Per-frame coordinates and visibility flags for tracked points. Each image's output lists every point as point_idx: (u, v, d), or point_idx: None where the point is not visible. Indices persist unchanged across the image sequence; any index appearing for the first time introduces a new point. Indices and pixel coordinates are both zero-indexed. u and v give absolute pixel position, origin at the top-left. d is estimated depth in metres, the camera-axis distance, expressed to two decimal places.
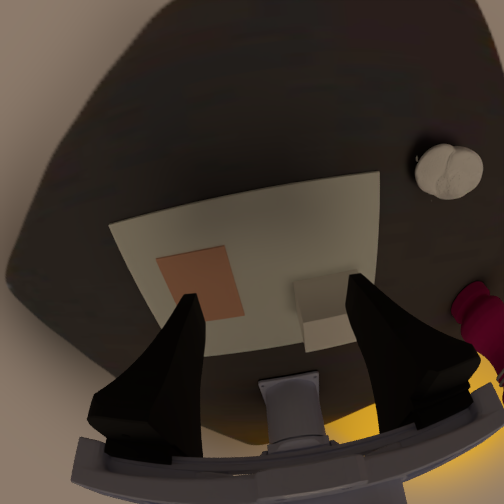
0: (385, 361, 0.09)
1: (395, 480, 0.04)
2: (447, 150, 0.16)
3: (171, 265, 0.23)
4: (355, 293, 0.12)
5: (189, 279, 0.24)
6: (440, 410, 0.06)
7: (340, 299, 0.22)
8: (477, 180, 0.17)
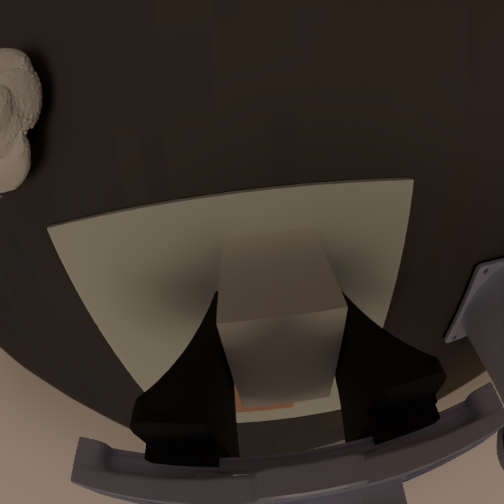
0: (347, 370, 0.09)
1: (395, 480, 0.04)
2: None
3: None
4: None
5: None
6: (401, 425, 0.06)
7: None
8: None
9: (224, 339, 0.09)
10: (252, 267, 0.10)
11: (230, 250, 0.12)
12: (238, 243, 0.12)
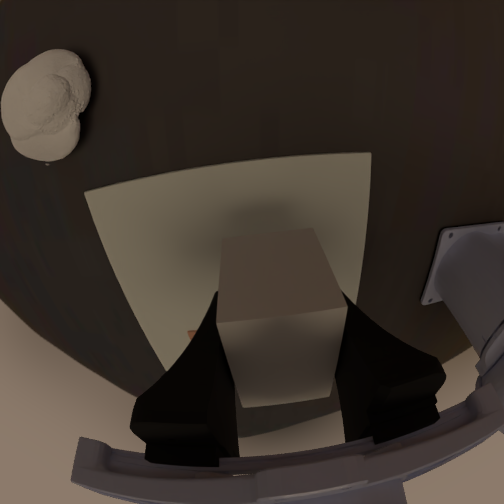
0: (347, 370, 0.09)
1: (395, 480, 0.04)
2: (15, 143, 0.11)
3: None
4: None
5: None
6: (400, 425, 0.06)
7: None
8: (26, 75, 0.08)
9: (224, 339, 0.09)
10: (252, 267, 0.10)
11: (230, 250, 0.12)
12: (238, 243, 0.12)
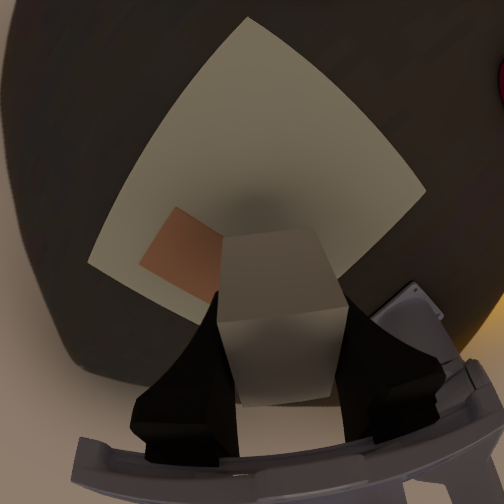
0: (347, 370, 0.09)
1: (395, 480, 0.04)
2: None
3: (153, 260, 0.21)
4: None
5: (179, 262, 0.21)
6: (400, 425, 0.06)
7: None
8: None
9: (224, 338, 0.09)
10: (252, 266, 0.10)
11: (231, 249, 0.12)
12: (239, 243, 0.12)
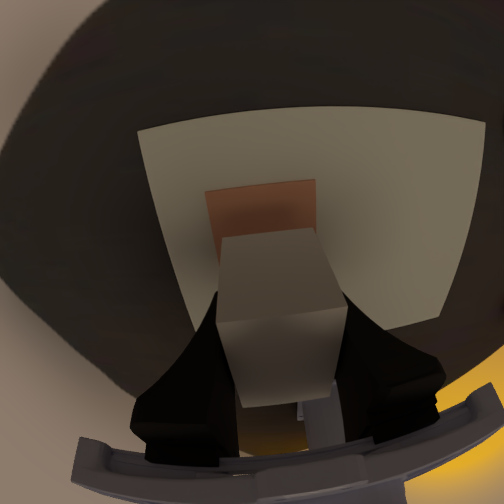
0: (347, 370, 0.09)
1: (395, 480, 0.04)
2: None
3: (228, 204, 0.15)
4: None
5: (251, 230, 0.16)
6: (400, 425, 0.06)
7: None
8: None
9: (224, 339, 0.09)
10: (252, 266, 0.10)
11: (230, 250, 0.12)
12: (238, 243, 0.12)
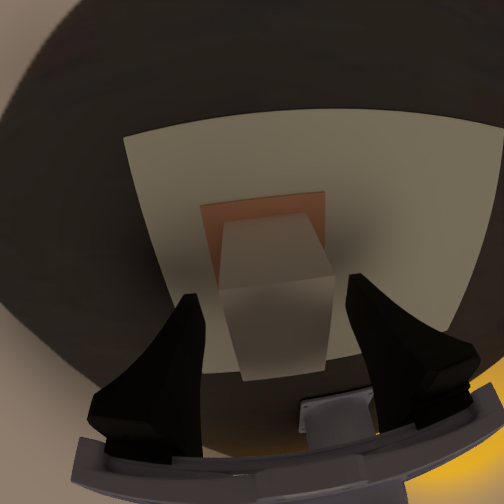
0: (385, 361, 0.09)
1: (395, 480, 0.04)
2: None
3: (226, 219, 0.14)
4: (355, 293, 0.12)
5: None
6: (440, 410, 0.06)
7: None
8: None
9: (225, 306, 0.10)
10: (250, 244, 0.12)
11: (231, 231, 0.13)
12: (238, 226, 0.13)
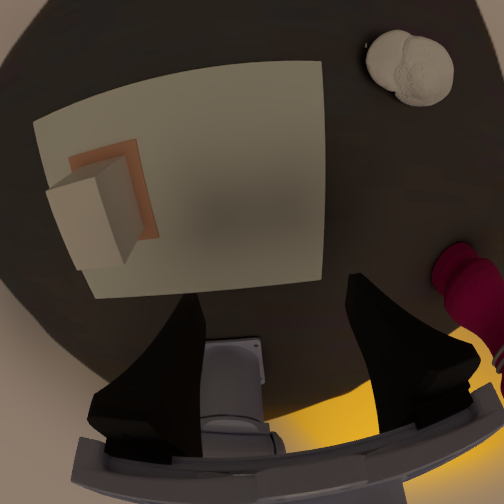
0: (385, 361, 0.09)
1: (396, 480, 0.04)
2: (402, 35, 0.11)
3: (82, 164, 0.18)
4: (355, 293, 0.12)
5: None
6: (440, 410, 0.06)
7: None
8: (447, 77, 0.12)
9: (50, 202, 0.14)
10: (78, 172, 0.16)
11: (78, 169, 0.17)
12: (84, 166, 0.17)
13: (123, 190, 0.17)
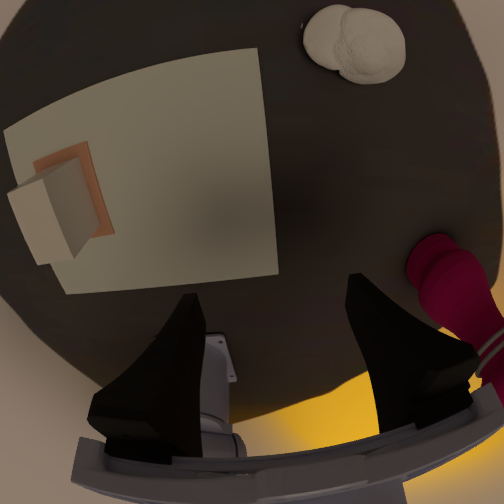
0: (385, 361, 0.09)
1: (395, 480, 0.04)
2: (339, 9, 0.11)
3: (44, 167, 0.17)
4: (355, 293, 0.12)
5: None
6: (440, 410, 0.06)
7: None
8: (397, 49, 0.12)
9: (11, 203, 0.14)
10: (36, 175, 0.15)
11: (39, 172, 0.17)
12: (44, 169, 0.17)
13: (75, 190, 0.17)
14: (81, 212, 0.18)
